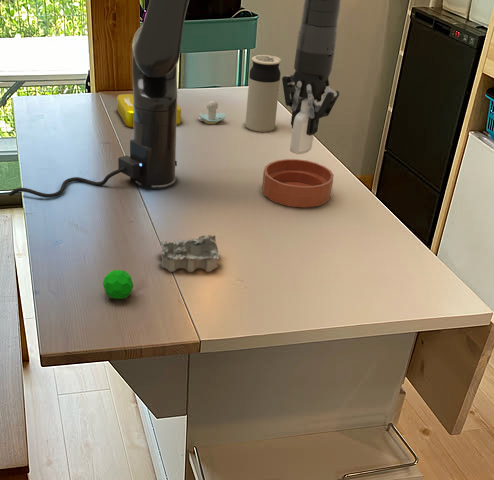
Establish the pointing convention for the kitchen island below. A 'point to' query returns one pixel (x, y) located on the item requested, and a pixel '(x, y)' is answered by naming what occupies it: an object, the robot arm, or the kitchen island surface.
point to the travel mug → (263, 93)
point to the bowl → (297, 183)
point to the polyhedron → (118, 284)
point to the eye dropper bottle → (301, 131)
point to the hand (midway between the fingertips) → (303, 131)
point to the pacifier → (212, 114)
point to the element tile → (128, 112)
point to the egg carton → (190, 254)
